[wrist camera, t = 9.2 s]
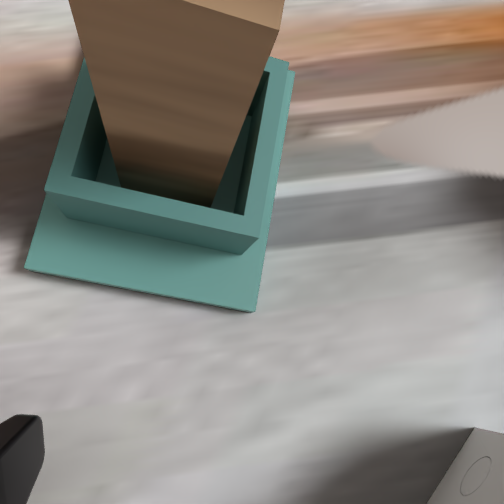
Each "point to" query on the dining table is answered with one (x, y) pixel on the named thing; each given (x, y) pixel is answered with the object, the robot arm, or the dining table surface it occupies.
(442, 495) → the grey curved block
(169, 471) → the dining table surface
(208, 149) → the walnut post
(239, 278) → the well
